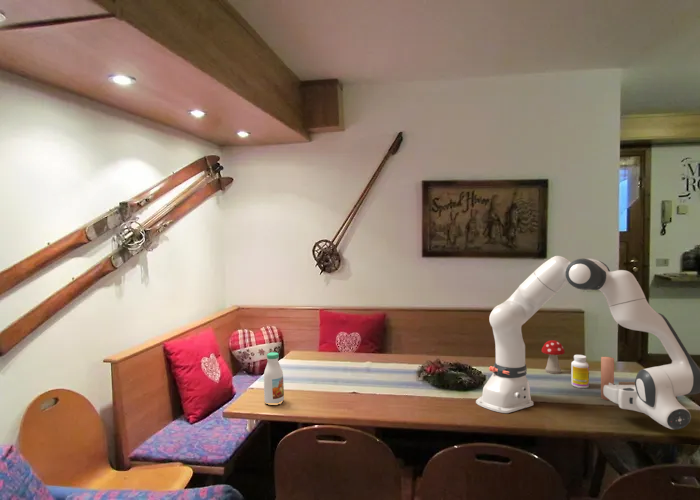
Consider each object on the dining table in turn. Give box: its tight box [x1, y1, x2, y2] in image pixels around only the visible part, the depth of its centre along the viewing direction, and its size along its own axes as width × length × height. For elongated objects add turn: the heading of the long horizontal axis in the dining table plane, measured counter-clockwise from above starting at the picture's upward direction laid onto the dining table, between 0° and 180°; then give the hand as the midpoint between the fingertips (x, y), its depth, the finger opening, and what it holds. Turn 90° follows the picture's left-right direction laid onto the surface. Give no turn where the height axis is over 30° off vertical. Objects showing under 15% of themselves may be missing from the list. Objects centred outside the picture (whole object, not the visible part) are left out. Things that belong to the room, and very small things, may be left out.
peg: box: [600, 356, 615, 402], centre depth 173 cm, size 4×4×16 cm
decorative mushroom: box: [541, 339, 566, 375], centre depth 205 cm, size 10×9×15 cm
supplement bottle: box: [570, 354, 590, 389], centre depth 187 cm, size 7×7×13 cm
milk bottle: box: [263, 351, 285, 403], centre depth 177 cm, size 8×8×20 cm
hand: (623, 384), depth 162 cm, fingers open, 8 cm apart
